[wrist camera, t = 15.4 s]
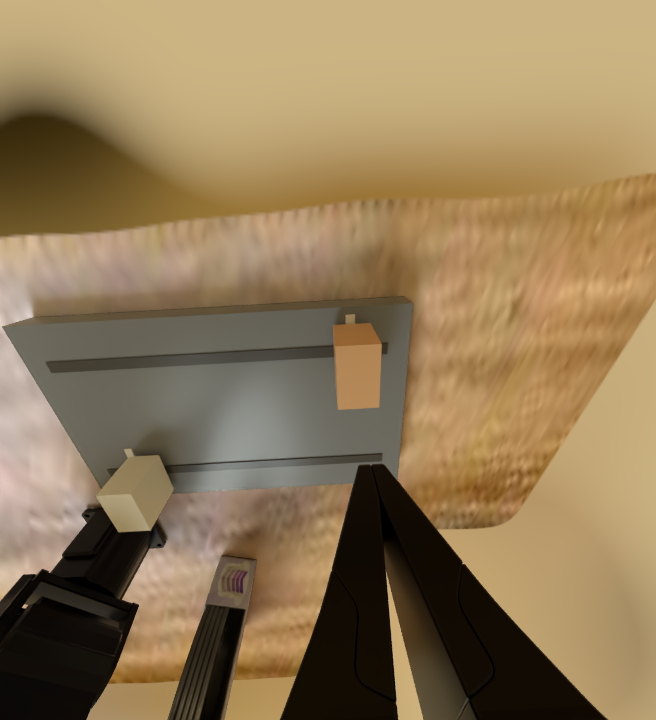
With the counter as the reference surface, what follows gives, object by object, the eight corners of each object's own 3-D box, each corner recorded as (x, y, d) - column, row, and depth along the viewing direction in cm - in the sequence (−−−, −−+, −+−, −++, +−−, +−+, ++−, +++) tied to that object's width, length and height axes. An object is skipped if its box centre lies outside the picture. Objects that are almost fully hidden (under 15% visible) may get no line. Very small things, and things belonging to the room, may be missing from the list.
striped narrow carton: (217, 548, 31) (107, 884, 15) (260, 553, 32) (199, 881, 16) (208, 624, 39) (131, 896, 23) (243, 627, 40) (191, 893, 24)
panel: (392, 463, 26) (397, 481, 24) (121, 478, 26) (105, 498, 24) (404, 296, 19) (413, 303, 17) (32, 317, 19) (0, 327, 17)
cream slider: (174, 489, 23) (150, 530, 20) (146, 491, 23) (118, 532, 20) (158, 454, 21) (130, 494, 18) (128, 456, 21) (95, 496, 18)
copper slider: (369, 377, 19) (379, 407, 15) (335, 379, 19) (337, 409, 15) (370, 322, 17) (381, 343, 14) (332, 324, 17) (335, 346, 14)
